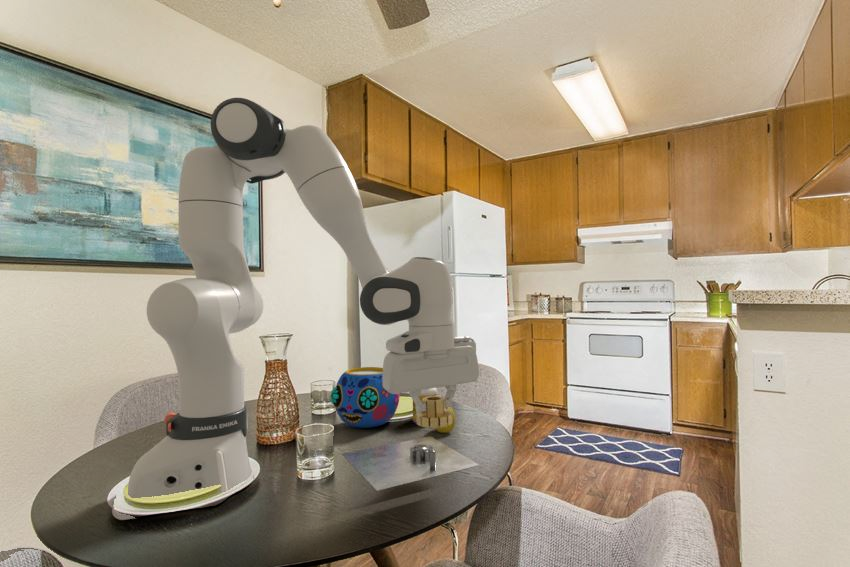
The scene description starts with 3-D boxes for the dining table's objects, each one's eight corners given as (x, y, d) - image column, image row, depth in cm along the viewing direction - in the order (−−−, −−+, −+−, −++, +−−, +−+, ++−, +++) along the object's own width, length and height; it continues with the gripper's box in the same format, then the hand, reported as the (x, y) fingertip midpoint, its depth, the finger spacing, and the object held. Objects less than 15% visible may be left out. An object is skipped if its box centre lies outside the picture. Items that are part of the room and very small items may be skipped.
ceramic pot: (320, 432, 111) (319, 374, 111) (356, 414, 128) (356, 363, 128) (379, 440, 104) (379, 378, 105) (410, 420, 121) (409, 366, 121)
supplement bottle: (408, 423, 118) (407, 376, 118) (429, 419, 121) (428, 373, 121) (420, 430, 112) (420, 380, 112) (442, 425, 115) (441, 377, 116)
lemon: (455, 431, 110) (455, 400, 110) (455, 439, 105) (454, 406, 105) (434, 431, 111) (433, 400, 111) (432, 438, 105) (431, 406, 105)
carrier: (376, 497, 76) (376, 470, 76) (341, 459, 93) (341, 437, 93) (479, 470, 86) (479, 447, 86) (430, 441, 104) (430, 421, 104)
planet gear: (427, 430, 80) (426, 405, 80) (410, 420, 86) (409, 397, 86) (459, 423, 83) (458, 399, 83) (440, 415, 89) (440, 392, 89)
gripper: (466, 334, 93) (468, 399, 92) (378, 342, 83) (380, 414, 83) (484, 336, 87) (486, 405, 87) (391, 345, 77) (393, 423, 77)
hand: (434, 410), depth 85 cm, fingers closed on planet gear, 4 cm apart
